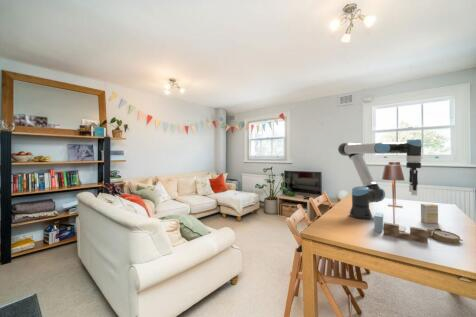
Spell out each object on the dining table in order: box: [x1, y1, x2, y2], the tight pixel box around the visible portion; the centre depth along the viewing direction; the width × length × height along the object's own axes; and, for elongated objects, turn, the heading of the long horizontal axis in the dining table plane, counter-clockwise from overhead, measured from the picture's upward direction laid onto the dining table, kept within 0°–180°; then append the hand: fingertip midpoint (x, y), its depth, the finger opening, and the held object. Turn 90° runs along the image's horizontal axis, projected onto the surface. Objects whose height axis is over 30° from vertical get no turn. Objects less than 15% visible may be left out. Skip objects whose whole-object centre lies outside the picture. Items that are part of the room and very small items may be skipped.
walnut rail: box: [383, 221, 429, 244], centre depth 120 cm, size 20×3×7 cm, turn 51°
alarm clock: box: [426, 227, 464, 245], centre depth 119 cm, size 11×5×15 cm
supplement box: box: [420, 203, 439, 224], centre depth 146 cm, size 8×5×13 cm, turn 84°
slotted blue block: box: [373, 212, 384, 234], centre depth 134 cm, size 10×4×10 cm, turn 141°
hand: (412, 193), depth 138 cm, fingers open, 13 cm apart
